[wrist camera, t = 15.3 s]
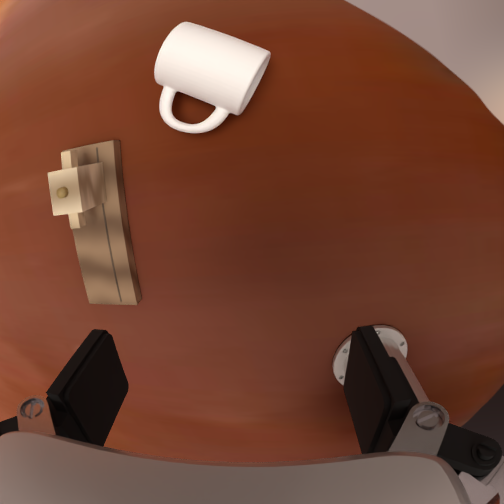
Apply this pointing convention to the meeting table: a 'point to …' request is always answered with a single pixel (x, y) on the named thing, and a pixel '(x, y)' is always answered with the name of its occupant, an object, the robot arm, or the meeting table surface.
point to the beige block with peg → (76, 188)
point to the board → (107, 234)
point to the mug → (207, 73)
